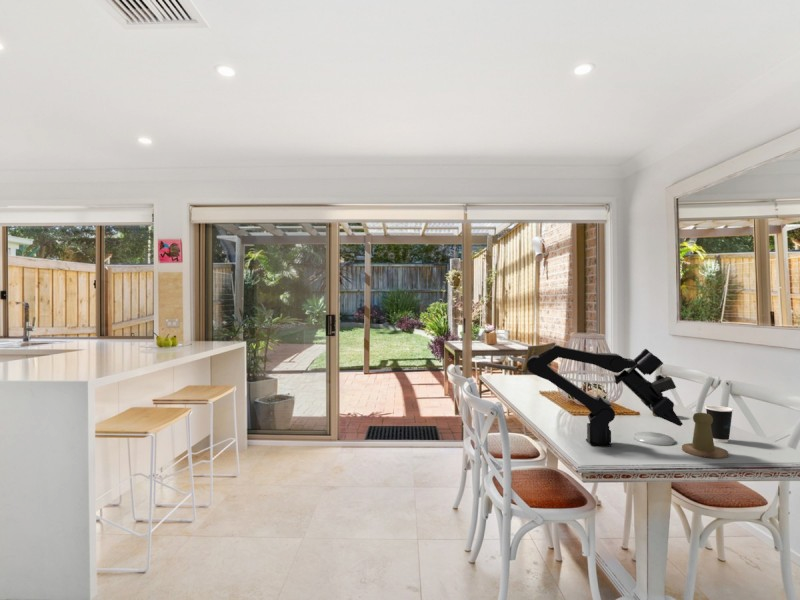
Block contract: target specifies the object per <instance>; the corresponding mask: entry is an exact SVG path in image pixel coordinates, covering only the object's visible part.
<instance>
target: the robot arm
mask: <svg viewBox="0 0 800 600" xmlns="http://www.w3.org/2000/svg"><path fill="white" fill-rule="evenodd" d="M558 358H560V359H566V360H570V361H574V362H581V363H585V364H589V365H594V366H597V367H600V368H601V369H604V370H607V371H610V372H613V373H616V374H614V375H613V376H614V383H615V384H616V385H618V384H620V383H623V384H624V385H625V386H626V387H627V389H629V391H631V392H632V393H633V394H635V396H636V397H638V399H640V401H641V403H643V404H644V405H645V406H646V407H647V408H648V409H649V408H650V409H651V410H650V409H649V410H650V411H651V412H652V413H654V414H656V415H657V416H656V417H658V418H660V419H663V420H665V421H667V422H670V423H672V424H674V425H677V426H679V427H681V426H682V425H684V424H683V422H682V420H681V419H680V417H678V415H677V413H676V412H675V410H674V407H675V403H674V402H673V401H672V399H670V398H669V397H667V396H664V394H663V393H664V392H667V391H670V390H674V389H676V388H677V386H676V384H675V382H674V380H673V379H672V377H670V376H665V377H664V375H661V374H658V375H656V376H655V380H653V382H651V381H649V380H647V379H646V378H645V377H644V376H645V375H649V376H651V375H652V374H653V373H654V372H655V371H657V370H658V369H659V368H660V367H661V366H662V365H664V362H663V361H662V360H661V359H660V358H659V357H658V356H656V355H654V354H653V353H652V352H651V351H649V350H648V349H647V348H645V349H643V350H642V351H641V352H640V353H639V354H638V355H637V356H636V357H635V358H634V359H632V358H626V357H623V356H621V355H620V354H618V353H611V352H608V353H607V352H602V353H601V352H600V353H599V352H598V353H597V352H592V351H591V352H590V351H587V350H581V349H576V348H572V347H571V348H570V347H565V346H561V345H560V344H559V345H558V344H555V345H553V346H552V347H550V348H549V349H547V350H545V351H544V352H542V353H540V354H539V355H532V356H530V357H529V358H528V360H527V362H526V368H527V371H528V372H530V373H531V374H533V375H535V376H537V377H539V378H542V379H544V380H547V381H549V383H550V382H551V384H553V385H554V386H556V387H558V388H559V389H560V390H562V391H563V392H565V394H568V395H569V396H570V397H572V398H573V399H575V400H576V401H577V402H579V403H580V404H582V405H583V406H585V407H586V409H587V410H588V411H589V412H590V413H589V414H588V415H587V419H588V421H589V422H587V423H586V438H585V441H586V442H587V443H588V444H589V445H590V446H592V447H593V446H594V447H596V446H597V447H612V430H611V429H610V423H611V422H612V421H614V419H615V417H616V411H615V410H614V408H613V407H612V404H611V402H610V401H609V400H607V399H605V398H603V397H602V396H601V395H600V394H597V396H593V395H591V394H589V393H587V392H586V391H585V390H584V389H582V388H580V387H579V386H578V385H577V384H574V383H573V382H572V381H570V380H569V379H568V378H566V377H564V376H563V375H561V373H558V372H557V371H556V370H554V368H553V367H552V366H550V364H551V363H553V362H554V361H555V360H557V359H558ZM626 369H627V370H626ZM636 369H637V370H636ZM617 373H619V374H617ZM643 375H644V376H643Z"/></svg>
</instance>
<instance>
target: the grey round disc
mask: <svg viewBox="0 0 800 600" xmlns="http://www.w3.org/2000/svg"><path fill="white" fill-rule="evenodd" d="M633 440H635V441H636V442H639V443H641V444H646V445H653V446H663V447H664V446H672V445H674V444H675V439H674V438H673V437H672V436H671V435H668V434H665V433H661V432H660V433H659V432H654V431H640V432H636V433H634V434H633Z"/></svg>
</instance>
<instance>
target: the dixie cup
mask: <svg viewBox="0 0 800 600" xmlns="http://www.w3.org/2000/svg"><path fill="white" fill-rule="evenodd" d="M704 409H705V411H706V412H705V413H706V414H710V415H711V416H712V418H713V422H712V424H711V430H712V436H713V442H716V443H723V444H724V443H728V442H729V439H730V436H731V435H730V434H731V425H732V416H733V411H734V408H731V407H729V406H728V407H727V406H723V405H722V406H721V405H705V406H704Z"/></svg>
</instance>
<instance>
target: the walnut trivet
mask: <svg viewBox="0 0 800 600" xmlns="http://www.w3.org/2000/svg"><path fill="white" fill-rule="evenodd" d="M714 448H715V451H712V452H707V451H700V450H696V449H693V448H692V442H691V443H689V442H688V443H683V444H682V445H681V451H682V452H684V453H686V454H688V455H691V456H695V457H700V458H704V459H705V458H706V459H719V460H720V459H726V458H728V457H729V451H728V450H727V449H726V448H725V449H724V448H722V447H719V446H716V445H714Z"/></svg>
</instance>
